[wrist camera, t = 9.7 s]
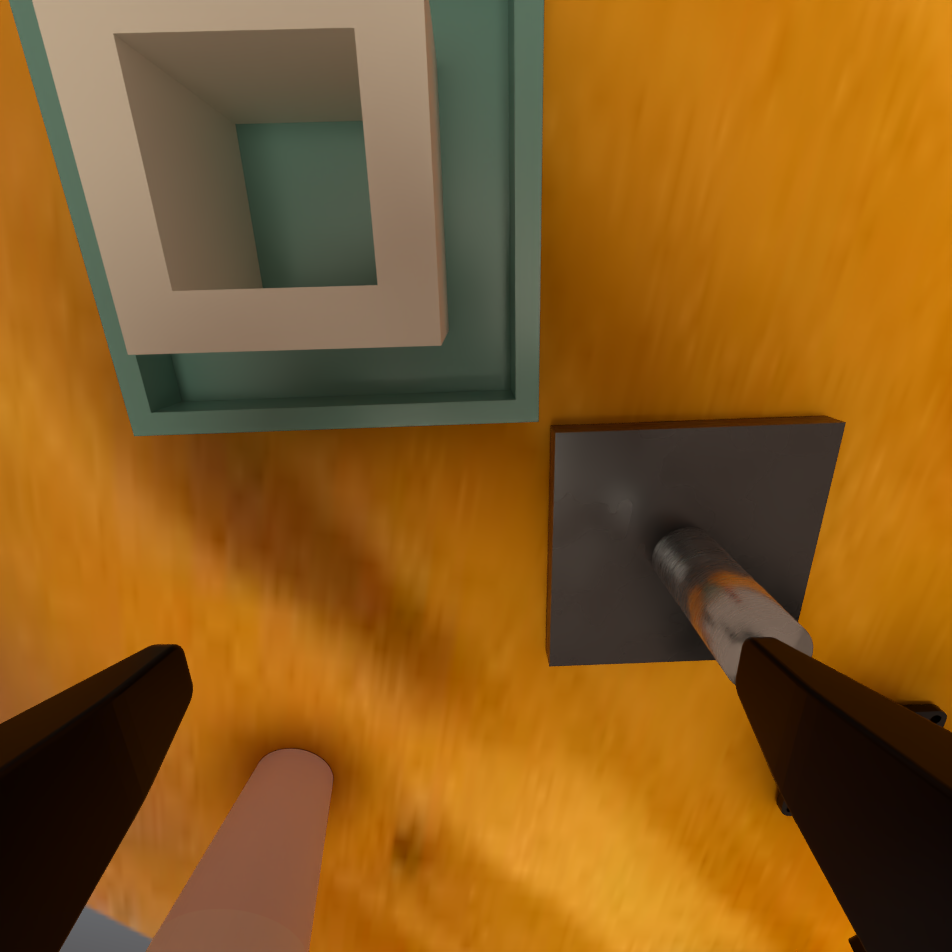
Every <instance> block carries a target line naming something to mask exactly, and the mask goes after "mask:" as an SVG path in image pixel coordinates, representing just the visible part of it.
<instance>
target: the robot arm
mask: <svg viewBox="0 0 952 952" xmlns="http://www.w3.org/2000/svg"><path fill="white" fill-rule="evenodd" d="M736 689H737V693H738V696H739V698H740V701H741V703H742V705H743V708H744V710H745V712H746V715H747V717H748V719H749V722H750V724H751V726H752V729H753V731H754V733H755V736H756V738H757V740H758V743H759V745H760V748H761V750H762V752H763V755H764V757H765V759H766V762H767V764H768V766H769V769H770V771H771V773H772V776H773V778H774V780H775V782H776V784H777V787H778V789H779V795H778V798H777V805H778V807H779V808H780V810H781V812H782V813H783V814H784V815H786V816H793V818H794V820H795V822H796V824H797V825H798V827H799V829H800V831H801V833H802V835H803V836H804V838H805V840H806V842H807V844H808V846H809V848H810V849H811V851H812V853H813V855H814V857H815V859H816V860H817V862H818V864H819V866H820V868H821V870H822V872H823V873H824V875H825V877H826V879H827V881H828V883H829V884H830V886H831V888H832V890H833V892H834V894H835V895H836V897H837V899H838V901H839V903H840V905H841V907H842V908H843V910H844V912H845V914H846V916H847V918H848V919H849V921H850V923H851V925H852V927H853V929H854V931H855V932H856V935H855V936H853V937H851V938H849V943H850V945H851V947H852V949H853V951H854V952H952V732H950V731H948V730H946V729H944V728H943V726H944V724H945V722H946V719H947V715H946V713H945V712H944V711H942V710H941V709H940V708H939V707H938V706H936V705H934V704H923V705H900V704H898V703H896V702H894V701H892V700H890V699H888V698H887V697H885V696H883V695H881V694H879V693H877V692H875V691H873V690H872V689H870V688H868V687H866V686H864V685H862V684H860V683H859V682H857V681H855V680H853V679H851V678H849V677H847V676H845V675H844V674H842V673H840V672H838V671H836V670H834V669H832V668H831V667H829V666H827V665H825V664H823V663H821V662H819V661H817V660H816V659H814V658H812V657H810V656H808V655H806V654H804V653H803V652H801V651H799V650H797V649H795V648H793V647H791V646H789V645H788V644H786V643H784V642H782V641H780V640H778V639H776V638H773V637H749V638H747V639H745V640H744V642H743V644H742V648H741V653H740V659H739V664H738V669H737V674H736ZM192 693H193V684H192V680H191V676H190V672H189V669H188V665H187V661H186V657H185V653H184V651H183V649H182V648H181V647H180V646H179V645H176V644H157V645H151V646H149V647H147V648H145V649H143V650H141V651H139V652H137V653H135V654H133V655H131V656H130V657H128V658H126V659H124V660H122V661H120V662H118V663H116V664H114V665H112V666H110V667H108V668H107V669H105V670H103V671H101V672H99V673H97V674H95V675H93V676H91V677H89V678H87V679H86V680H84V681H82V682H80V683H78V684H76V685H74V686H72V687H70V688H68V689H66V690H64V691H63V692H61V693H59V694H57V695H55V696H53V697H51V698H49V699H47V700H45V701H43V702H42V703H40V704H38V705H36V706H34V707H32V708H30V709H28V710H26V711H24V712H22V713H20V714H19V715H17V716H15V717H13V718H11V719H9V720H7V721H5V722H3V723H1V724H0V952H59V951H60V949H61V947H62V945H63V943H64V942H65V940H66V938H67V937H68V935H69V933H70V931H71V930H72V928H73V926H74V924H75V923H76V921H77V919H78V917H79V916H80V914H81V912H82V910H83V909H84V907H85V905H86V903H87V902H88V900H89V898H90V896H91V894H92V893H93V891H94V889H95V887H96V886H97V884H98V882H99V880H100V879H101V877H102V875H103V873H104V872H105V870H106V868H107V866H108V865H109V863H110V861H111V859H112V857H113V856H114V854H115V852H116V850H117V849H118V847H119V845H120V843H121V842H122V840H123V838H124V836H125V835H126V833H127V831H128V829H129V828H130V826H131V824H132V822H133V821H134V819H135V817H136V815H137V813H138V811H139V810H140V808H141V806H142V804H143V802H144V800H145V798H146V796H147V794H148V792H149V790H150V788H151V786H152V784H153V782H154V780H155V778H156V776H157V773H158V771H159V769H160V767H161V765H162V762H163V760H164V758H165V756H166V754H167V751H168V749H169V747H170V745H171V743H172V741H173V738H174V736H175V734H176V732H177V730H178V727H179V725H180V723H181V721H182V719H183V717H184V714H185V712H186V710H187V708H188V706H189V703H190V701H191V698H192Z"/></svg>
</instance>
